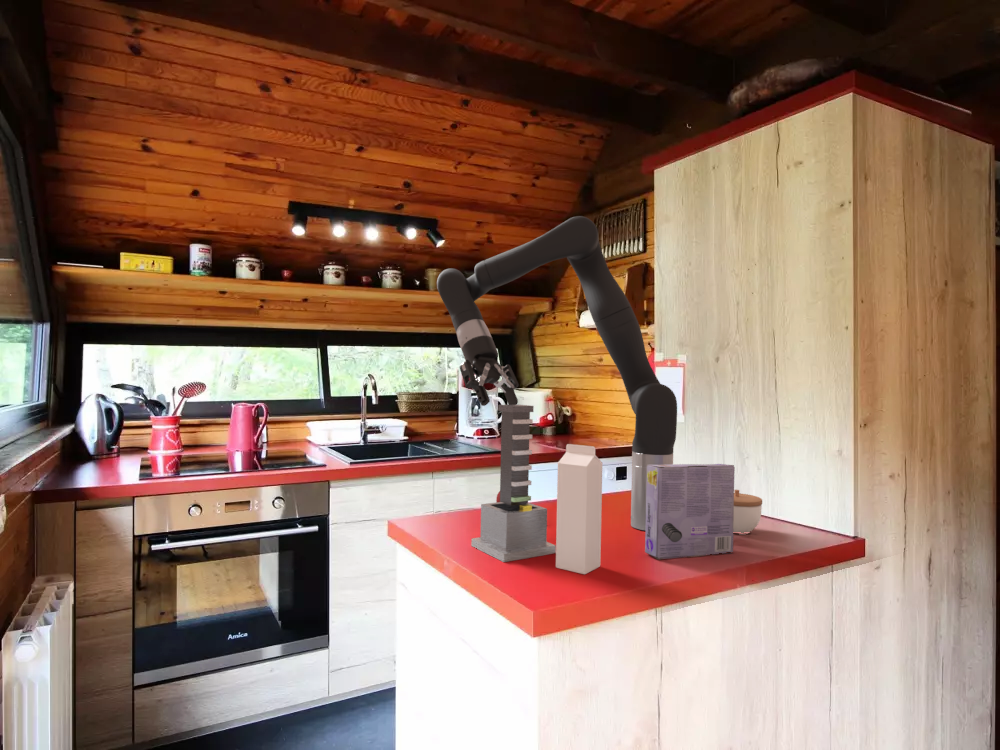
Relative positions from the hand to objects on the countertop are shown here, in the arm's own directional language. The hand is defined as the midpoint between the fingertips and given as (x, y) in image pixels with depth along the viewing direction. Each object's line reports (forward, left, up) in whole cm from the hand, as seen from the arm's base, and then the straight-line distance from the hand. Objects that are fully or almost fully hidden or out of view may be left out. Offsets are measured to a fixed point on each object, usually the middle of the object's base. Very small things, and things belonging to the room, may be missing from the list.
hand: (500, 404), depth 132 cm
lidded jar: (-53, -14, -28) cm, 62 cm away
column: (-5, +12, -19) cm, 23 cm away
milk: (-18, +20, -28) cm, 39 cm away
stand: (-5, +12, -28) cm, 31 cm away
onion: (0, -17, -28) cm, 33 cm away
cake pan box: (-40, +7, -28) cm, 49 cm away
